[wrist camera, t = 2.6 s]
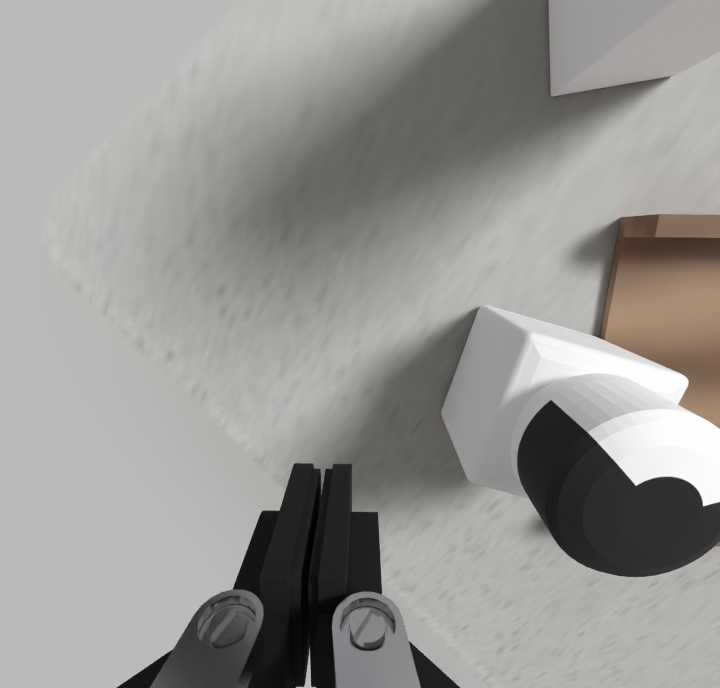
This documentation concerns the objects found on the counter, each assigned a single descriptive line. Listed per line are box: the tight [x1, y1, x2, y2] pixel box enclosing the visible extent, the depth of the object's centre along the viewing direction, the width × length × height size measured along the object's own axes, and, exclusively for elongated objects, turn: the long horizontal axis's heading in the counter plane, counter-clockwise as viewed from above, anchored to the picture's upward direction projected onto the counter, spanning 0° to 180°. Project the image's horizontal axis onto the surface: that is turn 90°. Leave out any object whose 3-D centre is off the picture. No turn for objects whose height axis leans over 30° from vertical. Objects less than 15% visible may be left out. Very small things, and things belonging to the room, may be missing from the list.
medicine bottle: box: [441, 305, 720, 577], centre depth 17 cm, size 7×7×12 cm
